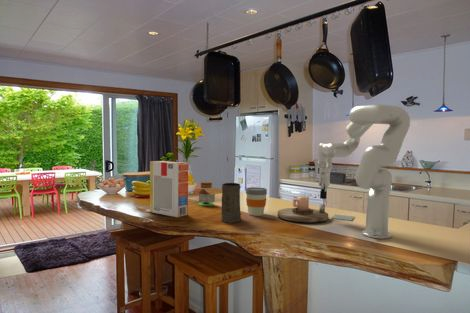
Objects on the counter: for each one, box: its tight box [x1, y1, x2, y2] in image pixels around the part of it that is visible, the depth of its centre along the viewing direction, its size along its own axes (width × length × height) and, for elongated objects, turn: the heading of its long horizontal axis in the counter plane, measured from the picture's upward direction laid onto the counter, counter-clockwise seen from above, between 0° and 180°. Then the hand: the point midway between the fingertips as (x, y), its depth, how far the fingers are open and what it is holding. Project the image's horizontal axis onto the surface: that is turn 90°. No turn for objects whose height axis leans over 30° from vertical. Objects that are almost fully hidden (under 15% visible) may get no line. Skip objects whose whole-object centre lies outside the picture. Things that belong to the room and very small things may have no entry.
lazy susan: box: [277, 203, 329, 223], centre depth 189 cm, size 28×28×6 cm
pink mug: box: [292, 195, 310, 211], centre depth 189 cm, size 9×6×9 cm
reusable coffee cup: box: [245, 186, 268, 217], centre depth 198 cm, size 13×13×15 cm
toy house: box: [197, 181, 216, 207], centre depth 225 cm, size 12×13×15 cm
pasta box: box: [149, 160, 189, 218], centre depth 195 cm, size 23×8×30 cm, turn 56°
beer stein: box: [220, 182, 242, 224], centre depth 181 cm, size 15×11×20 cm
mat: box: [330, 214, 355, 222], centre depth 192 cm, size 11×11×1 cm
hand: (323, 198), depth 185 cm, fingers closed
